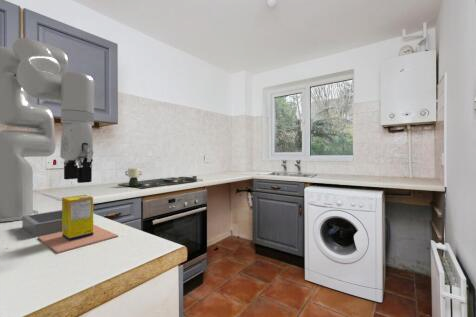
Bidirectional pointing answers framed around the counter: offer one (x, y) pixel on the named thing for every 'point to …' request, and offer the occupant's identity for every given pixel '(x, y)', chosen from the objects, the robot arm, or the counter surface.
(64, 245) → the mat
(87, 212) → the supplement box
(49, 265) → the counter surface
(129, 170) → the character mug
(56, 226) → the tray
